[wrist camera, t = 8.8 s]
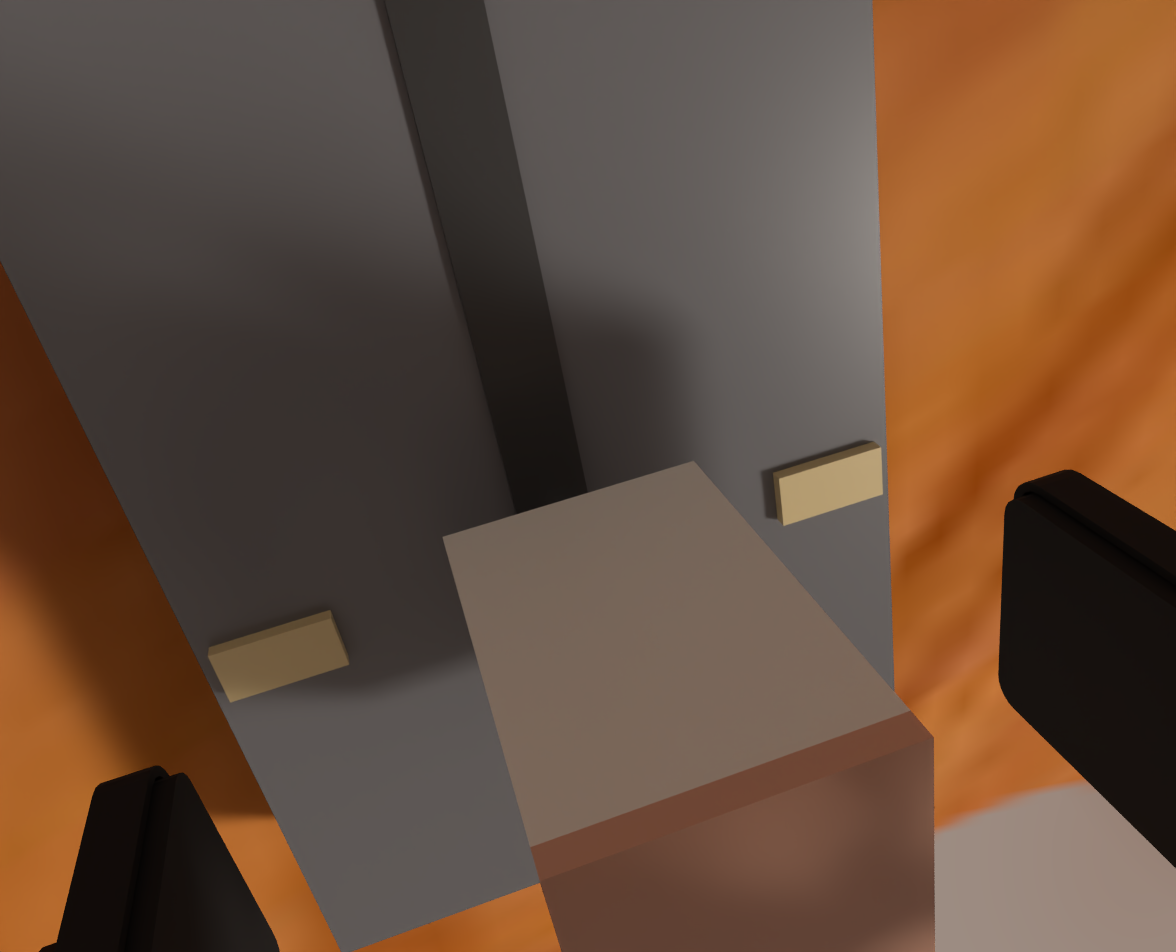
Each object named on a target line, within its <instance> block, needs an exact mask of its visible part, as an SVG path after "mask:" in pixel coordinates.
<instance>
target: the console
mask: <svg viewBox="0 0 1176 952" xmlns="http://www.w3.org/2000/svg"><path fill="white" fill-rule="evenodd" d="M0 261H1V263H2V265H3V267H4V269H5V272H6V274H7V276H8V278H9V280H10V282H11V284H12V286H13V288H14V290H15V292H16V294H17V296H18V298H19V300H20V302H21V304H22V306H23V308H24V310H25V312H26V314H27V316H28V318H29V320H30V322H31V324H32V326H33V328H34V330H35V332H36V334H37V336H38V338H39V340H40V342H41V344H42V346H43V348H44V351H45V353H46V355H47V357H48V359H49V361H50V363H51V365H52V367H53V369H54V371H55V373H56V375H57V377H58V379H59V381H60V383H61V385H62V387H63V389H64V391H65V393H66V395H67V397H68V399H69V401H70V403H71V405H72V407H73V409H74V411H75V413H76V415H77V417H78V419H79V421H80V423H81V425H82V427H83V429H84V432H85V434H86V436H87V438H88V440H89V442H90V444H91V446H92V448H93V450H94V452H95V454H96V456H97V458H98V460H99V462H100V464H101V466H102V468H103V470H104V472H105V474H106V476H107V478H108V480H109V482H110V484H111V486H112V488H113V490H114V492H115V494H116V496H117V498H118V500H119V502H120V504H121V506H122V508H123V511H124V513H125V515H126V517H127V519H128V521H129V523H130V525H131V527H132V529H133V531H134V533H135V535H136V537H137V539H138V541H139V543H140V545H141V547H142V549H143V551H144V553H145V555H146V557H147V559H148V561H149V563H150V565H151V567H152V569H153V571H154V573H155V575H156V577H157V579H158V581H159V583H160V585H161V587H162V589H163V592H164V594H165V596H166V598H167V600H168V602H169V604H170V606H171V608H172V610H173V612H174V614H175V616H176V618H177V620H178V622H179V624H180V626H181V628H182V630H183V632H184V634H185V636H186V638H187V640H188V642H189V644H190V646H191V648H192V650H193V652H194V654H195V656H196V658H197V660H198V662H199V664H200V666H201V668H202V671H203V673H204V675H205V677H206V679H207V681H208V683H209V685H210V687H211V689H212V691H213V693H214V695H215V697H216V699H217V701H218V703H219V705H220V707H221V709H222V711H223V713H224V715H225V717H226V719H227V721H228V723H229V725H230V727H231V729H232V731H233V733H234V735H235V737H236V739H237V741H238V743H239V745H240V747H241V749H242V752H243V754H244V756H245V758H246V760H247V762H248V764H249V766H250V768H251V770H252V772H253V774H254V776H255V778H256V780H257V782H258V784H259V786H260V788H261V790H262V792H263V794H264V796H265V798H266V800H267V802H268V804H269V806H270V808H271V810H272V812H273V814H274V816H275V818H276V820H277V822H278V824H279V826H280V828H281V831H282V833H283V835H284V837H285V839H286V841H287V843H288V845H289V847H290V849H291V851H292V853H293V855H294V857H295V859H296V861H297V863H298V865H299V867H300V869H301V871H302V873H303V875H304V877H305V879H306V881H307V883H308V885H309V887H310V889H311V891H312V893H313V895H314V897H315V899H316V901H317V903H318V905H319V907H320V910H321V912H322V914H323V916H324V918H325V920H326V922H327V924H328V926H329V928H330V930H331V932H332V934H333V936H334V938H335V940H336V942H337V944H338V946H339V948H340V950H341V952H351V951H354V950H357V949H360V948H362V947H365V946H368V945H371V944H373V943H376V942H379V941H382V940H384V939H387V938H390V937H393V936H395V935H398V934H401V933H403V932H406V931H409V930H412V929H414V928H417V927H420V926H423V925H425V924H428V923H431V922H434V921H436V920H439V919H442V918H444V917H447V916H450V915H453V914H455V913H458V912H461V911H464V910H466V909H469V908H472V907H475V906H477V905H480V904H483V903H486V902H488V901H491V900H494V899H496V898H499V897H502V896H505V895H507V894H510V893H513V892H516V891H518V890H521V889H524V888H527V887H529V886H532V885H535V884H537V883H540V880H539V877H538V873H537V870H536V866H535V863H534V859H533V856H532V852H531V849H530V845H529V841H528V838H527V834H526V831H525V827H524V824H523V820H522V817H521V813H520V810H519V806H518V803H517V799H516V796H515V792H514V788H513V785H512V781H511V778H510V774H509V771H508V767H507V764H506V760H505V757H504V753H503V750H502V746H501V743H500V739H499V735H498V732H497V728H496V725H495V721H494V718H493V714H492V711H491V707H490V704H489V700H488V697H487V693H486V689H485V686H484V682H483V679H482V675H481V672H480V668H479V665H478V661H477V658H476V654H475V651H474V647H473V644H472V640H471V636H470V633H469V629H468V626H467V622H466V619H465V615H464V612H463V608H462V605H461V601H460V598H459V594H458V591H457V587H456V583H455V580H454V576H453V573H452V569H451V566H450V562H449V559H448V555H447V552H446V548H445V545H444V541H443V538H442V537H444V536H447V535H450V534H454V533H457V532H460V531H464V530H467V529H470V528H474V527H477V526H480V525H483V524H487V523H490V522H493V521H497V520H500V519H503V518H507V517H510V516H513V515H516V514H520V513H523V512H526V511H530V510H533V509H536V508H539V507H543V506H546V505H549V504H553V503H556V502H559V501H563V500H566V499H569V498H572V497H576V496H579V495H582V494H586V493H589V492H592V491H596V490H599V489H602V488H605V487H609V486H612V485H615V484H619V483H622V482H625V481H629V480H632V479H635V478H638V477H642V476H645V475H648V474H652V473H655V472H658V471H662V470H665V469H668V468H671V467H675V466H678V465H681V464H685V463H688V462H691V461H694V462H695V463H696V464H697V465H698V466H699V467H700V469H701V470H702V471H703V472H704V473H705V474H706V475H707V477H708V478H709V479H710V480H711V481H712V482H713V484H714V485H715V486H716V487H717V488H718V489H719V490H720V492H721V493H722V494H723V495H724V496H725V497H726V499H727V500H728V501H729V502H730V503H731V504H732V505H733V507H734V508H735V509H736V510H737V511H738V512H739V514H740V515H741V516H742V517H743V518H744V519H745V520H746V522H747V523H748V524H749V525H750V526H751V527H752V529H753V530H754V531H755V532H756V533H757V534H758V535H759V537H760V538H761V539H762V540H763V541H764V542H765V544H766V545H767V546H768V547H769V548H770V549H771V550H772V552H773V553H774V554H775V555H776V556H777V557H778V558H779V560H780V561H781V562H782V563H783V564H784V565H785V567H786V568H787V569H788V570H789V571H790V572H791V573H792V575H793V576H794V577H795V578H796V579H797V580H798V582H799V583H800V584H801V585H802V586H803V587H804V588H805V590H806V591H807V592H808V593H809V594H810V595H811V597H812V598H813V599H814V600H815V601H816V602H817V603H818V605H819V606H820V607H821V608H822V609H823V610H824V612H825V613H826V614H827V615H828V616H829V617H830V618H831V620H832V621H833V622H834V623H835V624H836V625H837V626H838V628H839V629H840V630H841V631H842V632H843V633H844V635H845V636H846V637H847V638H848V639H849V640H850V641H851V643H852V644H853V645H854V646H855V647H856V648H857V650H858V651H859V652H860V653H861V654H862V655H863V656H864V658H865V659H866V660H867V661H868V662H869V663H870V665H871V666H872V667H873V668H874V669H875V670H876V671H877V673H878V674H879V675H880V676H881V677H882V678H883V680H884V681H885V682H886V683H887V684H888V685H889V686H890V688H891V689H892V690H893V691H894V664H893V633H892V602H891V570H890V539H889V508H888V477H887V446H886V414H885V383H884V352H883V321H882V290H881V258H880V227H879V196H878V165H877V134H876V102H875V71H874V40H873V9H872V0H0Z"/></svg>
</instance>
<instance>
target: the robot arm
mask: <svg viewBox="0 0 1176 952" xmlns="http://www.w3.org/2000/svg"><path fill="white" fill-rule="evenodd" d="M998 675H999V683H1000V686H1001V689H1002V692H1003V694H1004V696H1005V697H1006V699H1007V701H1008V702H1009V704H1010V705H1011V706H1012V707H1013V708H1014V709H1015V710H1016V711H1017V712H1018V713H1019V714H1020V715H1021V716H1022V717H1023V718H1024V719H1025V720H1026V721H1027V722H1028V723H1029V724H1030V725H1031V726H1032V727H1033V728H1034V729H1035V730H1036V731H1037V732H1038V733H1039V734H1040V735H1041V736H1042V737H1043V738H1044V739H1045V740H1046V741H1047V742H1048V743H1049V744H1050V745H1051V746H1052V747H1053V748H1054V749H1055V750H1056V751H1057V752H1058V753H1059V754H1060V755H1061V756H1062V757H1063V758H1064V759H1065V760H1067V761H1068V762H1069V763H1070V764H1071V765H1072V766H1073V767H1074V768H1075V769H1076V770H1077V771H1078V772H1079V773H1080V774H1081V775H1082V776H1083V777H1084V778H1085V779H1086V780H1087V781H1088V782H1089V783H1090V784H1091V785H1092V786H1093V787H1094V788H1095V789H1096V790H1097V791H1098V792H1099V793H1100V794H1101V795H1102V796H1103V797H1104V798H1105V799H1106V800H1107V801H1108V802H1109V803H1110V804H1111V805H1112V806H1113V807H1114V808H1115V809H1116V810H1117V811H1118V812H1119V813H1120V814H1121V815H1122V816H1123V817H1124V818H1125V819H1126V820H1127V821H1128V822H1130V823H1131V825H1132V826H1133V827H1134V828H1136V829H1137V830H1138V831H1139V832H1140V833H1141V834H1142V835H1143V836H1144V837H1145V838H1146V839H1147V840H1148V841H1149V842H1150V843H1151V844H1152V845H1153V846H1154V847H1155V848H1156V849H1157V850H1158V851H1159V852H1160V853H1161V854H1162V855H1163V856H1164V857H1165V858H1166V859H1167V860H1168V861H1169V862H1170V863H1171V864H1172V865H1173V866H1174V867H1175V868H1176V531H1175V530H1173V529H1172V528H1170V527H1168V526H1167V525H1165V524H1163V523H1162V522H1160V521H1158V520H1157V519H1155V518H1153V517H1152V516H1150V515H1148V514H1147V513H1145V512H1143V511H1142V510H1140V509H1139V508H1137V507H1135V506H1134V505H1132V504H1130V503H1129V502H1127V501H1125V500H1124V499H1122V498H1120V497H1119V496H1117V495H1115V494H1114V493H1112V492H1110V491H1109V490H1107V489H1105V488H1104V487H1102V486H1101V485H1099V484H1097V483H1096V482H1094V481H1092V480H1091V479H1089V478H1087V477H1086V476H1084V475H1082V474H1081V473H1079V472H1076V471H1074V470H1062V471H1059V472H1056V473H1053V474H1050V475H1047V476H1044V477H1041V478H1038V479H1035V480H1032V481H1028V482H1025V483H1023V484H1021V485H1020V486H1018V488H1017V490H1016V491H1015V494H1014V500H1012V501H1010V502H1008V504H1007V506H1006V508H1005V515H1004V541H1003V567H1002V594H1001V620H1000V646H999V673H998ZM39 952H280V951H279V947H278V944H277V941H276V938H275V936H274V934H273V932H272V930H271V928H270V927H269V925H268V923H267V921H266V919H265V917H264V915H263V914H262V912H261V910H260V908H259V906H258V904H257V903H256V901H255V899H254V897H253V895H252V893H251V891H250V890H249V888H248V886H247V884H246V882H245V880H244V879H243V877H242V875H241V873H240V871H239V869H238V867H237V866H236V864H235V862H234V860H233V858H232V856H231V855H230V853H229V851H228V849H227V847H226V845H225V843H224V842H223V840H222V838H221V836H220V834H219V832H218V831H217V829H216V827H215V825H214V823H213V821H212V819H211V818H210V816H209V814H208V812H207V810H206V808H205V807H204V805H203V803H202V801H201V799H200V797H199V795H198V794H197V792H196V790H195V788H194V786H193V784H192V783H191V781H190V779H189V778H188V776H187V775H185V774H184V773H178V774H175V775H172V776H169V775H168V773H167V772H166V771H165V770H164V769H163V768H162V767H161V766H153V767H149V768H146V769H143V770H140V771H137V772H134V773H131V774H128V775H125V776H122V777H119V778H116V779H113V780H110V781H106V782H103V783H100V784H99V785H98V786H97V787H96V788H95V791H94V793H93V796H92V800H91V804H90V808H89V812H88V816H87V820H86V824H85V828H84V832H83V836H82V841H81V845H80V849H79V853H78V857H77V861H76V865H75V869H74V873H73V877H72V881H71V885H70V890H69V894H68V898H67V902H66V906H65V910H64V914H63V918H62V922H61V926H60V930H59V934H58V939H57V943H54V944H51V945H48V946H45V947H43V948H42V949H41V950H40V951H39Z"/></svg>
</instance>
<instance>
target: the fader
mask: <svg viewBox="0 0 1176 952" xmlns="http://www.w3.org/2000/svg"><path fill="white" fill-rule="evenodd" d="M442 538H443V541H444V545H445V548H446V552H447V555H448V559H449V562H450V566H451V569H452V573H453V576H454V580H455V583H456V587H457V591H458V594H459V598H460V601H461V605H462V608H463V612H464V615H465V619H466V622H467V626H468V629H469V633H470V636H471V640H472V644H473V647H474V651H475V654H476V658H477V661H478V665H479V668H480V672H481V675H482V679H483V682H484V686H485V689H486V693H487V697H488V700H489V704H490V707H491V711H492V714H493V718H494V721H495V725H496V728H497V732H498V735H499V739H500V743H501V746H502V750H503V753H504V757H505V760H506V764H507V767H508V771H509V774H510V778H511V781H512V785H513V788H514V792H515V796H516V799H517V803H518V806H519V810H520V813H521V817H522V820H523V824H524V827H525V831H526V834H527V838H528V841H529V845H530V849H531V852H532V856H533V859H534V863H535V866H536V870H537V873H538V877H539V880H540V884H541V887H542V890H543V893H544V896H545V900H546V903H547V906H548V909H549V912H550V916H551V919H552V922H553V925H554V928H555V932H556V935H557V938H558V941H559V944H560V948H561V951H562V952H935V914H934V912H935V911H934V909H935V908H934V907H935V905H934V737H933V736H932V735H931V734H930V733H929V731H928V730H927V729H926V728H925V727H924V726H923V724H922V723H921V722H920V721H919V720H918V719H917V718H916V716H915V715H914V714H913V713H912V712H911V711H910V709H909V708H908V707H907V706H906V705H905V704H904V703H903V701H902V700H901V699H900V698H899V697H898V696H897V695H896V693H895V692H894V691H893V690H892V689H891V688H890V686H889V685H888V684H887V683H886V682H885V681H884V680H883V678H882V677H881V676H880V675H879V674H878V673H877V671H876V670H875V669H874V668H873V667H872V666H871V665H870V663H869V662H868V661H867V660H866V659H865V658H864V656H863V655H862V654H861V653H860V652H859V651H858V650H857V648H856V647H855V646H854V645H853V644H852V643H851V641H850V640H849V639H848V638H847V637H846V636H845V635H844V633H843V632H842V631H841V630H840V629H839V628H838V626H837V625H836V624H835V623H834V622H833V621H832V620H831V618H830V617H829V616H828V615H827V614H826V613H825V612H824V610H823V609H822V608H821V607H820V606H819V605H818V603H817V602H816V601H815V600H814V599H813V598H812V597H811V595H810V594H809V593H808V592H807V591H806V590H805V588H804V587H803V586H802V585H801V584H800V583H799V582H798V580H797V579H796V578H795V577H794V576H793V575H792V573H791V572H790V571H789V570H788V569H787V568H786V567H785V565H784V564H783V563H782V562H781V561H780V560H779V558H778V557H777V556H776V555H775V554H774V553H773V552H772V550H771V549H770V548H769V547H768V546H767V545H766V544H765V542H764V541H763V540H762V539H761V538H760V537H759V535H758V534H757V533H756V532H755V531H754V530H753V529H752V527H751V526H750V525H749V524H748V523H747V522H746V520H745V519H744V518H743V517H742V516H741V515H740V514H739V512H738V511H737V510H736V509H735V508H734V507H733V505H732V504H731V503H730V502H729V501H728V500H727V499H726V497H725V496H724V495H723V494H722V493H721V492H720V490H719V489H718V488H717V487H716V486H715V485H714V484H713V482H712V481H711V480H710V479H709V478H708V477H707V475H706V474H705V473H704V472H703V471H702V470H701V469H700V467H699V466H698V465H697V464H696V463H695V462H694V461H691V462H688V463H685V464H681V465H678V466H675V467H671V468H668V469H665V470H662V471H658V472H655V473H652V474H648V475H645V476H642V477H638V478H635V479H632V480H629V481H625V482H622V483H619V484H615V485H612V486H609V487H605V488H602V489H599V490H596V491H592V492H589V493H586V494H582V495H579V496H576V497H572V498H569V499H566V500H563V501H559V502H556V503H553V504H549V505H546V506H543V507H539V508H536V509H533V510H530V511H526V512H523V513H520V514H516V515H513V516H510V517H507V518H503V519H500V520H497V521H493V522H490V523H487V524H483V525H480V526H477V527H474V528H470V529H467V530H464V531H460V532H457V533H454V534H450V535H447V536H444V537H442Z"/></svg>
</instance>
